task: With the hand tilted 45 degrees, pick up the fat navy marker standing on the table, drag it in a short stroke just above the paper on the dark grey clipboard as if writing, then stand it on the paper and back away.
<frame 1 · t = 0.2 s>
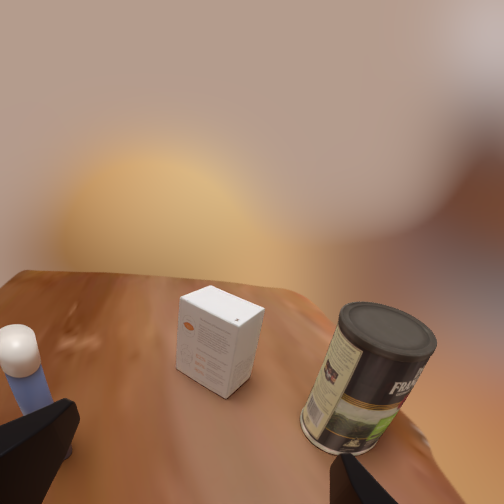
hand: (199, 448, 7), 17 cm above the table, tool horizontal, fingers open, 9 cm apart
small box: (212, 375, 34), on the table
coffee can: (340, 425, 28), on the table
marker: (57, 447, 16), on the table
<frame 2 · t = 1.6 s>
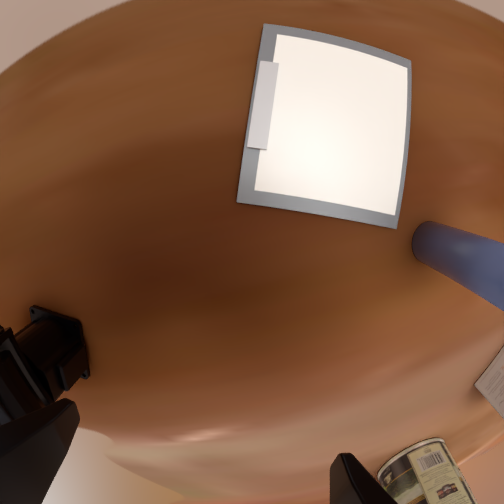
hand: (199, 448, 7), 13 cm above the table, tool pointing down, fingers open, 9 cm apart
small box: (499, 363, 22), on the table
clipboard: (333, 119, 17), on the table
coffee can: (411, 460, 25), on the table
marker: (428, 242, 19), on the table
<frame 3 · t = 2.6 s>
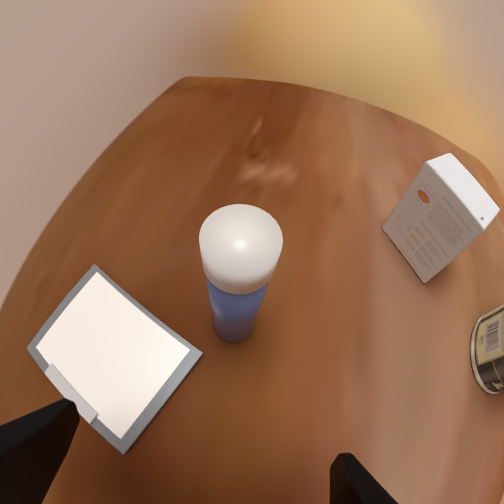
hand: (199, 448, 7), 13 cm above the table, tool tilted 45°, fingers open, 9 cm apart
small box: (414, 247, 29), on the table
clipboard: (104, 355, 20), on the table
coffee can: (493, 352, 22), on the table
marker: (233, 323, 23), on the table
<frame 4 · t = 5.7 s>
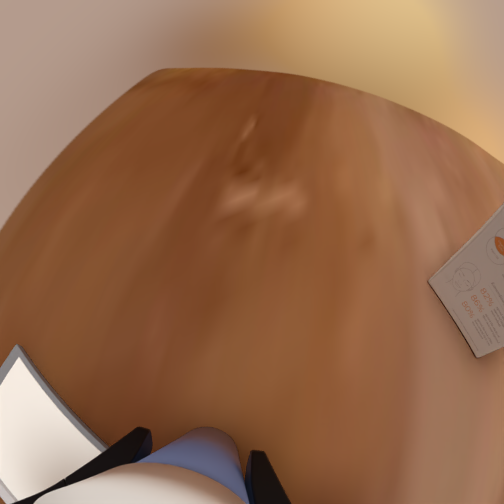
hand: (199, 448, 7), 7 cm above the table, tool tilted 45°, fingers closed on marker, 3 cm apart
small box: (465, 303, 18), on the table
clipboard: (41, 468, 10), on the table
marker: (207, 453, 12), on the table, touching gripper
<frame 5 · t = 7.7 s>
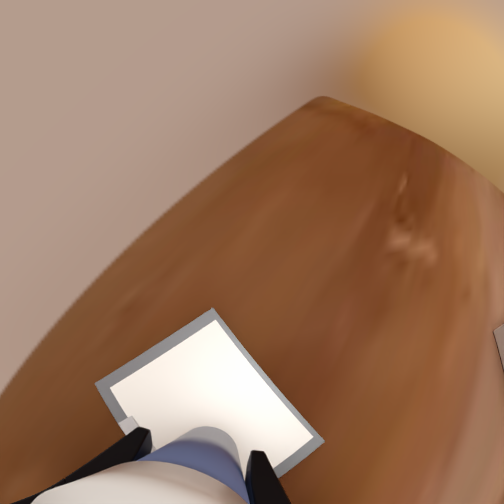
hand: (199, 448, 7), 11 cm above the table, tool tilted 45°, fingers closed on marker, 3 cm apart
clipboard: (205, 421, 17), on the table
marker: (207, 453, 12), point 5 cm above the table, touching gripper
when the fingers open (8 cm above the table, at t = 9.9 s): marker stays where it is, resting on clipboard.
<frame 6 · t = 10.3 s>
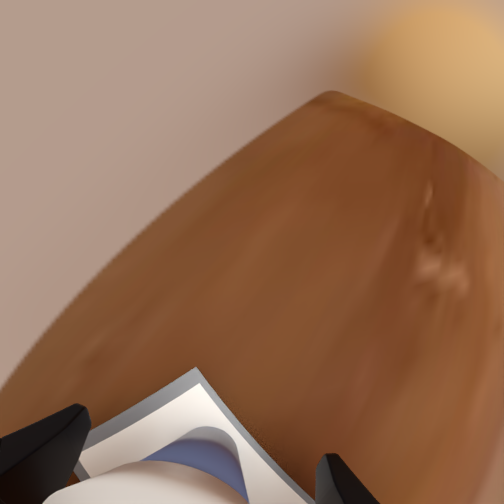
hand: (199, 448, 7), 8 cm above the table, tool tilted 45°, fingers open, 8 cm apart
clipboard: (189, 499, 11), on the table
marker: (208, 452, 12), point 1 cm above the table, touching clipboard
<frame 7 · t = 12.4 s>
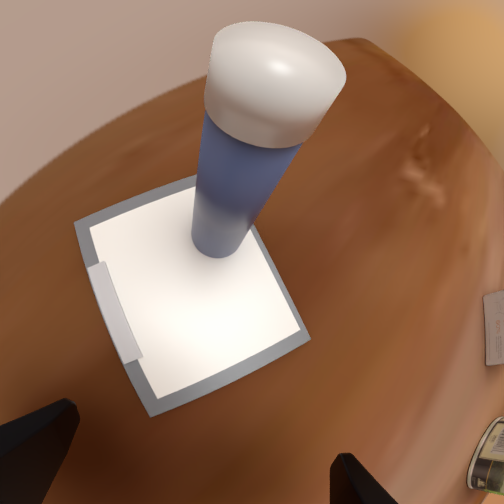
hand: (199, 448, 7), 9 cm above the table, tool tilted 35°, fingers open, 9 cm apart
small box: (493, 328, 23), on the table
clipboard: (185, 284, 17), on the table
coffee can: (487, 452, 18), on the table
marker: (217, 233, 18), point 1 cm above the table, touching clipboard
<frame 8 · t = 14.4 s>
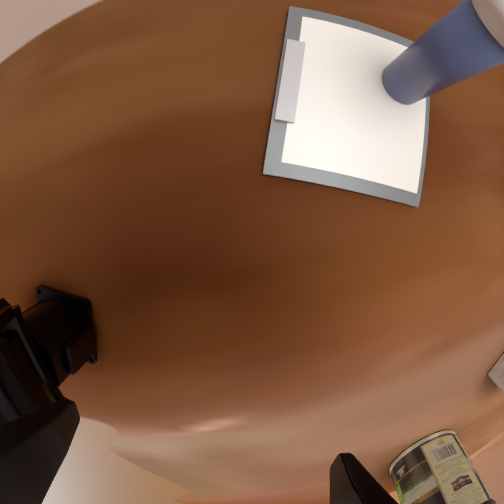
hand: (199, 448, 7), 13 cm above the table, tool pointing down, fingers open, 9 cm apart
clipboard: (357, 98, 16), on the table
coffee can: (423, 453, 25), on the table
marker: (401, 83, 15), point 1 cm above the table, touching clipboard
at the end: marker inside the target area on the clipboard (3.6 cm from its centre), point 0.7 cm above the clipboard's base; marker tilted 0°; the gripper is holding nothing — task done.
